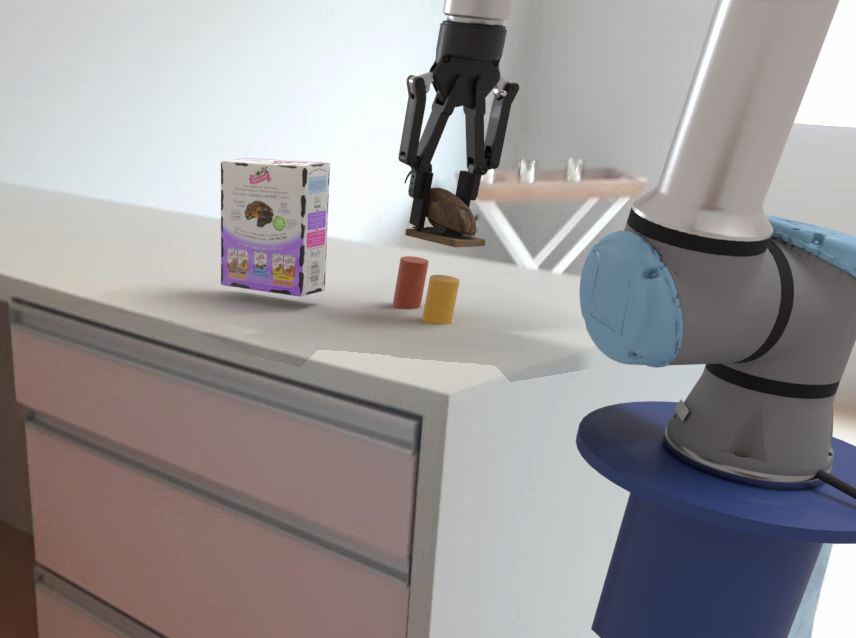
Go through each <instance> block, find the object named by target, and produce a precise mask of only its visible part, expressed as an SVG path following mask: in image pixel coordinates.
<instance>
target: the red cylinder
mask: <svg viewBox="0 0 856 638" xmlns="http://www.w3.org/2000/svg"><path fill="white" fill-rule="evenodd" d="M429 263H430V262H429V260H428V259H426V258H423V257H419V256H411V255H410V256H409V255H408V256H407V255H405V256H401V257H400V259H399V265H398V271H397V276H396V282H395V288H394V294H393V300H392V305H391V306H392V307H393V308H395V309H399V310H416V309H420V308H421V306H422V301H423V295H424V290H425V284H426V278H427V274H428V267H429Z"/></svg>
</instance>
